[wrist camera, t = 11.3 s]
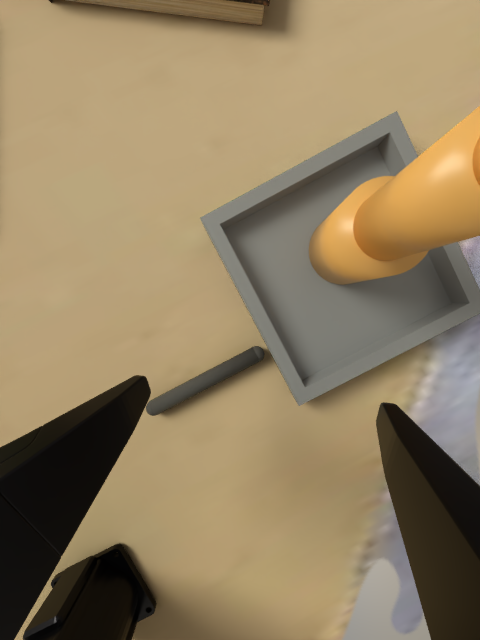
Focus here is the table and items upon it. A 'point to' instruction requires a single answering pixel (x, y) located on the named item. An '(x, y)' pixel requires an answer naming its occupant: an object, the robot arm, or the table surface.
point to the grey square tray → (320, 295)
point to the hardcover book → (196, 8)
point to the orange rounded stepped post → (404, 212)
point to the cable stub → (205, 380)
